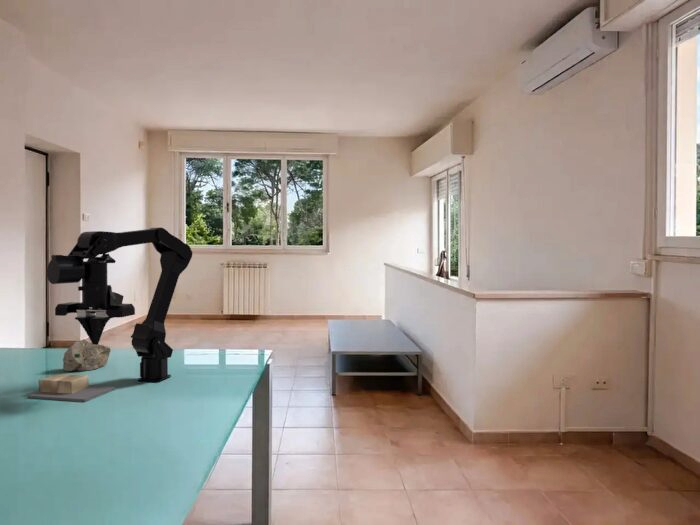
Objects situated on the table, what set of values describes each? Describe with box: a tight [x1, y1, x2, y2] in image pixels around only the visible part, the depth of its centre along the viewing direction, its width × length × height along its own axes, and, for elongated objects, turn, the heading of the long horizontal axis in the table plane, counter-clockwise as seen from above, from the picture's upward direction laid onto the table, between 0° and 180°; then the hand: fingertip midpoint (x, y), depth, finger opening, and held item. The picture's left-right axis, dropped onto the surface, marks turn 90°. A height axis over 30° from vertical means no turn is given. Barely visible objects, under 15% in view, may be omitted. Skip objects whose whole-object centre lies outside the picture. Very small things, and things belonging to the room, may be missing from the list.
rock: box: [62, 339, 111, 372], centre depth 155 cm, size 12×7×10 cm, turn 115°
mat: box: [27, 385, 116, 403], centre depth 129 cm, size 16×11×1 cm
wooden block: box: [38, 373, 90, 394], centre depth 130 cm, size 3×6×9 cm
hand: (95, 344), depth 128 cm, fingers closed
